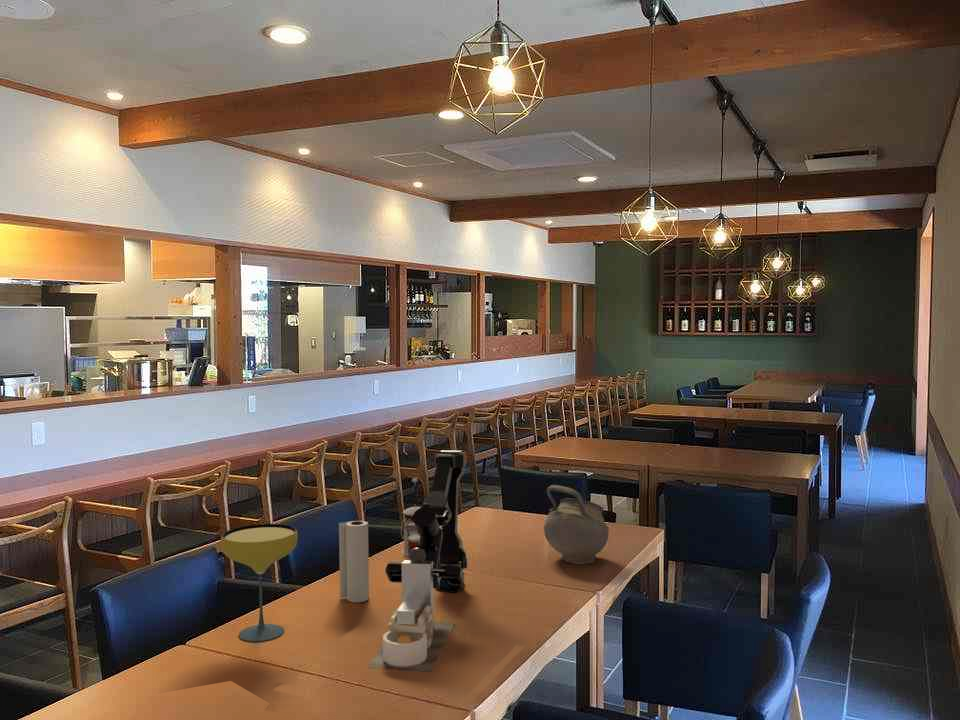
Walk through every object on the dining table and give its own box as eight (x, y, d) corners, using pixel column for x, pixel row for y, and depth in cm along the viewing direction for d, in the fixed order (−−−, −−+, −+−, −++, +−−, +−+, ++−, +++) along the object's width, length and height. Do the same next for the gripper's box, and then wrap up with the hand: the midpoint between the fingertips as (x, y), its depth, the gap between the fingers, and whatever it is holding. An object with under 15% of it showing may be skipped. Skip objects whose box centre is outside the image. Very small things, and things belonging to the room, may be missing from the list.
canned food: (404, 574, 238) (403, 538, 238) (415, 567, 245) (415, 532, 245) (426, 577, 235) (426, 541, 235) (438, 569, 242) (437, 534, 242)
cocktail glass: (219, 626, 197) (217, 528, 196) (292, 615, 205) (290, 520, 204) (226, 653, 181) (224, 546, 180) (305, 640, 188) (303, 537, 187)
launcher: (400, 624, 197) (400, 586, 197) (455, 627, 195) (454, 589, 195) (366, 673, 170) (366, 629, 169) (429, 677, 168) (429, 632, 167)
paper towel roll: (373, 599, 217) (372, 522, 216) (356, 604, 212) (355, 526, 211) (357, 593, 221) (356, 518, 221) (340, 598, 217) (338, 522, 216)
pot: (564, 573, 238) (563, 491, 237) (532, 555, 256) (532, 479, 255) (621, 564, 246) (621, 485, 245) (587, 548, 265) (586, 474, 264)
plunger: (406, 631, 189) (404, 544, 188) (434, 633, 188) (433, 545, 187) (390, 654, 176) (389, 560, 175) (421, 656, 175) (420, 562, 174)
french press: (436, 551, 263) (435, 476, 262) (415, 559, 253) (414, 482, 252) (412, 546, 268) (411, 474, 267) (391, 555, 258) (390, 479, 257)
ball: (397, 641, 178) (394, 656, 175) (397, 630, 176) (393, 645, 172) (415, 643, 178) (411, 659, 174) (415, 632, 175) (411, 648, 172)
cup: (375, 662, 172) (374, 640, 172) (397, 646, 181) (397, 625, 181) (413, 670, 168) (413, 647, 168) (434, 653, 177) (434, 631, 177)
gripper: (469, 564, 203) (462, 622, 192) (399, 561, 206) (388, 618, 195) (463, 542, 194) (455, 602, 184) (390, 540, 197) (379, 598, 187)
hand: (419, 606), depth 188 cm, fingers closed
